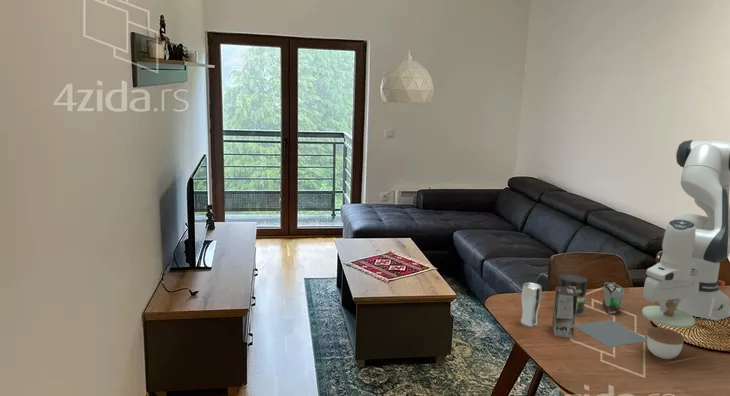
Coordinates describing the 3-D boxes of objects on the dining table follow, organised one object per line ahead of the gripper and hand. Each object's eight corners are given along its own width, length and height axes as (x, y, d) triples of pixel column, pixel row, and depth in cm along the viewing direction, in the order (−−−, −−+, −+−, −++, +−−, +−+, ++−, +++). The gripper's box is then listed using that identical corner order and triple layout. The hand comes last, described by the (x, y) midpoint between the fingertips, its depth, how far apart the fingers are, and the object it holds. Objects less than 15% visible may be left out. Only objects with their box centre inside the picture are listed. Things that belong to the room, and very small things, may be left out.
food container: (625, 318, 205) (628, 294, 203) (608, 316, 206) (611, 292, 204) (617, 305, 217) (620, 282, 215) (601, 304, 218) (604, 281, 216)
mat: (610, 320, 202) (610, 319, 202) (649, 341, 186) (649, 340, 186) (572, 326, 197) (572, 325, 196) (608, 348, 180) (608, 347, 180)
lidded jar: (666, 347, 182) (669, 321, 180) (688, 363, 172) (692, 336, 170) (637, 348, 181) (640, 323, 179) (658, 364, 170) (662, 337, 168)
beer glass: (516, 319, 202) (519, 282, 199) (534, 319, 202) (537, 282, 199) (523, 327, 195) (526, 289, 192) (541, 327, 195) (545, 289, 192)
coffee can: (583, 318, 204) (587, 283, 201) (555, 313, 208) (559, 279, 205) (583, 308, 213) (587, 275, 211) (556, 304, 217) (560, 271, 214)
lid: (665, 306, 183) (667, 292, 182) (705, 324, 169) (708, 309, 168) (631, 311, 178) (633, 297, 177) (670, 330, 164) (672, 315, 163)
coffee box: (573, 339, 186) (577, 296, 183) (554, 337, 188) (558, 294, 185) (569, 328, 195) (574, 287, 192) (551, 326, 197) (555, 285, 193)
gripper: (690, 264, 176) (684, 303, 179) (642, 269, 170) (637, 310, 173) (707, 270, 171) (701, 311, 173) (659, 276, 164) (653, 318, 167)
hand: (668, 310), depth 173 cm, fingers closed on lid, 3 cm apart
